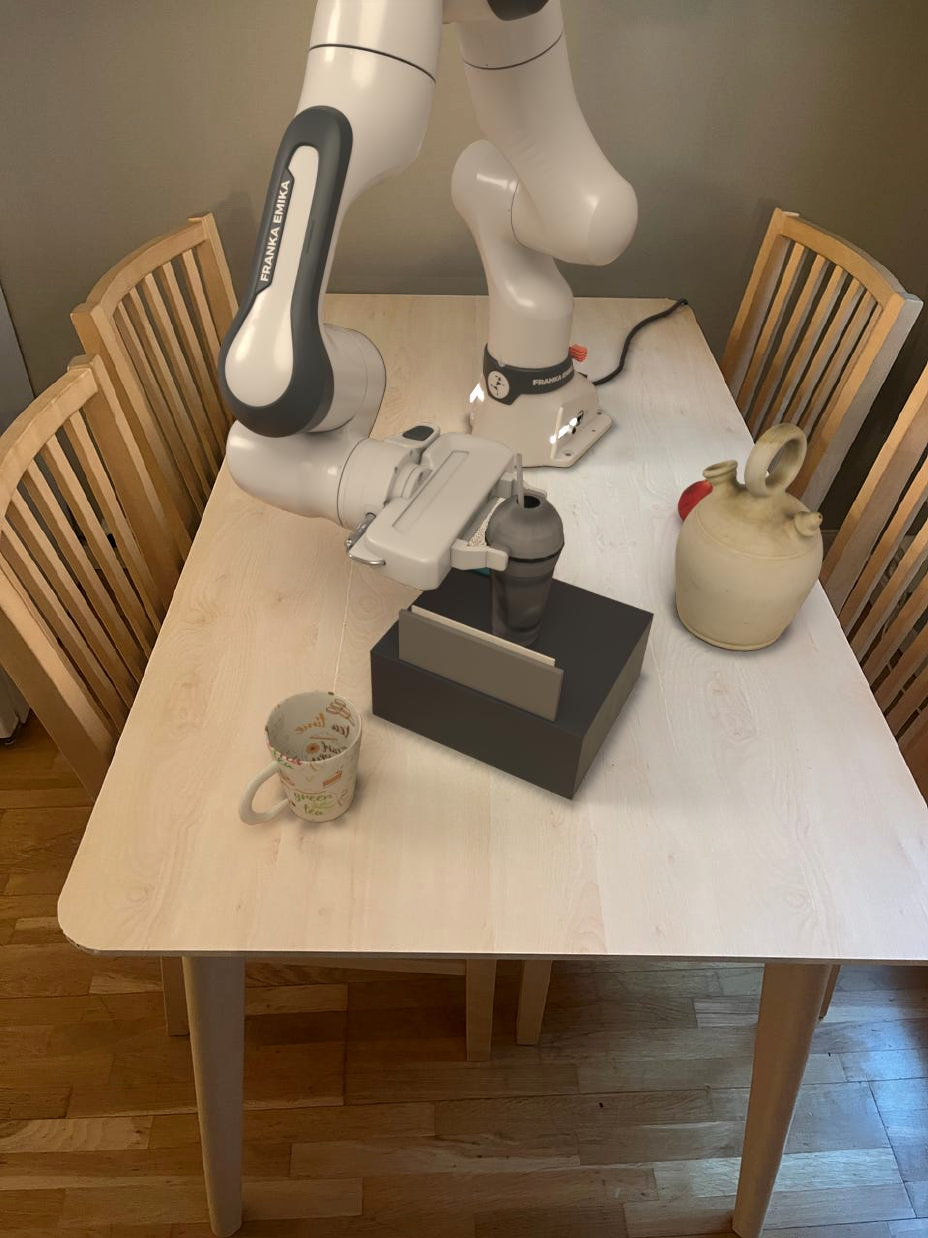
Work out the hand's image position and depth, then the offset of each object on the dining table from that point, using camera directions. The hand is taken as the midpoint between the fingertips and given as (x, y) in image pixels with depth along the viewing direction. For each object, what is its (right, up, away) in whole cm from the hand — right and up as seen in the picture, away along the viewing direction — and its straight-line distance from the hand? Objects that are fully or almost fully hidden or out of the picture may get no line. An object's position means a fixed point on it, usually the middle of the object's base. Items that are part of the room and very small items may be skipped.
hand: (527, 529), depth 83 cm
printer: (-1, -16, +14) cm, 21 cm away
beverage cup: (-1, -9, +8) cm, 13 cm away
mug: (-20, -26, +2) cm, 33 cm away
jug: (+25, -8, +25) cm, 36 cm away
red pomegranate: (+24, +4, +38) cm, 45 cm away
